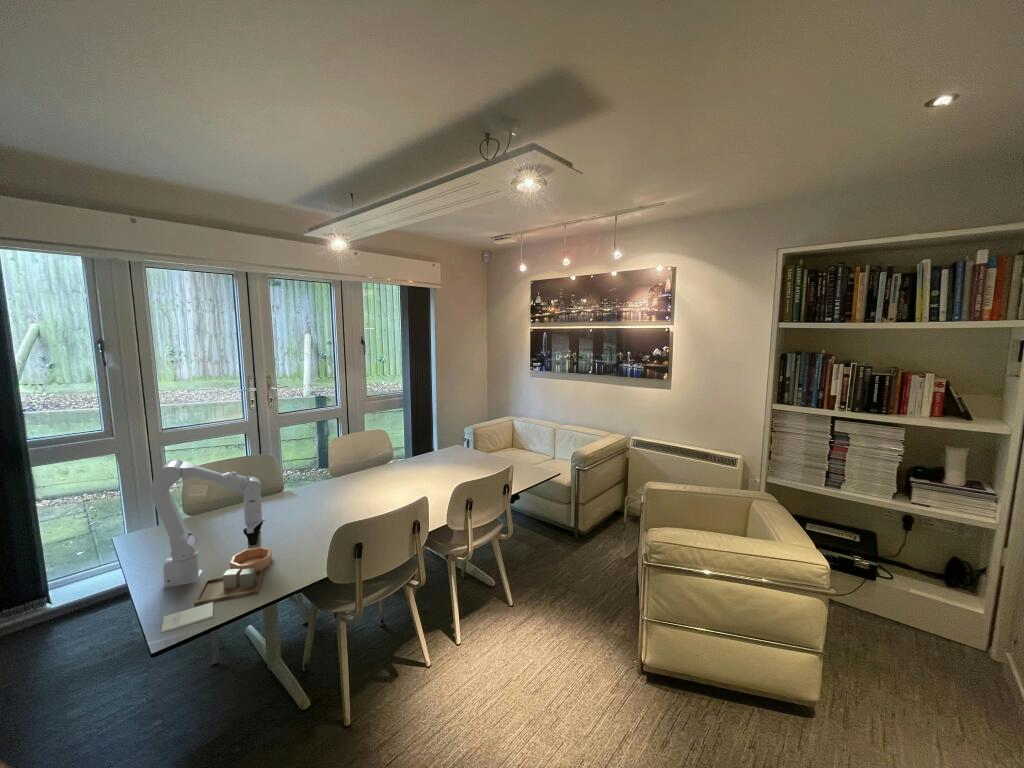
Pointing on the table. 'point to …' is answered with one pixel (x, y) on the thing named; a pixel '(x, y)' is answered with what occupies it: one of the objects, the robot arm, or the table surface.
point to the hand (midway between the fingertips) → (254, 542)
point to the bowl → (251, 559)
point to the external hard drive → (187, 617)
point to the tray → (225, 590)
